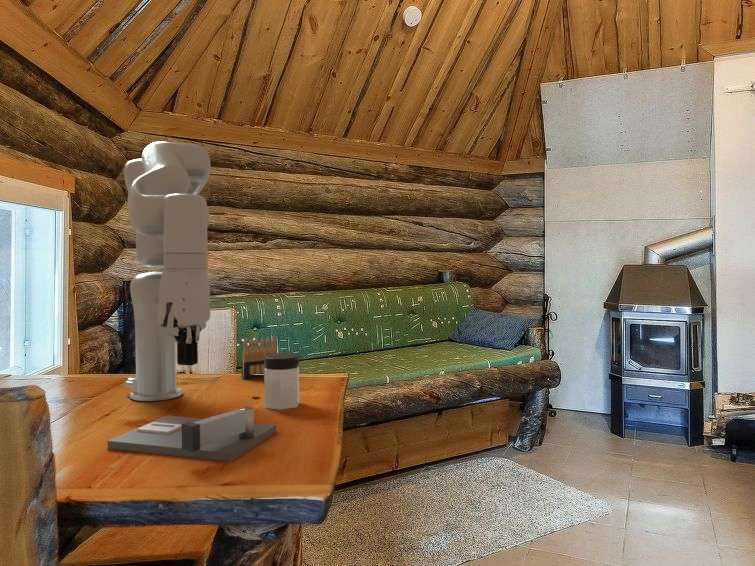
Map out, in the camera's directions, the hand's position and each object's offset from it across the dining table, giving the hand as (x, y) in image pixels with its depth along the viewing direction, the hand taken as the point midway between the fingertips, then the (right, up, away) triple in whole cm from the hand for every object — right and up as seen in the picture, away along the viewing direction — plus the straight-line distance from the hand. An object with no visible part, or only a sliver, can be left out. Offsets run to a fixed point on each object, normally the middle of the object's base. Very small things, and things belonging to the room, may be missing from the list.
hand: (187, 364), depth 109 cm
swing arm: (+6, -15, 0) cm, 16 cm away
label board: (-1, -16, +9) cm, 18 cm away
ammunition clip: (0, -13, +68) cm, 69 cm away
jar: (+12, -15, +35) cm, 40 cm away
